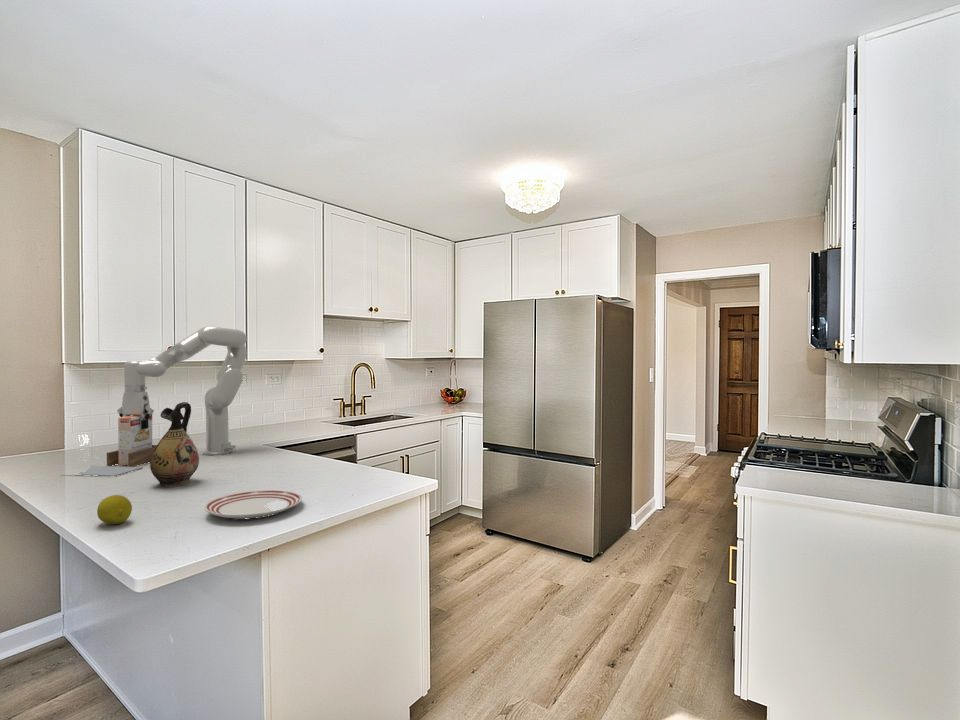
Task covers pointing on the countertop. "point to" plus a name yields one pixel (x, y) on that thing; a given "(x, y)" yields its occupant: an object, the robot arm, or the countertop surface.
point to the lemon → (114, 509)
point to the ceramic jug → (175, 450)
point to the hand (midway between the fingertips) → (135, 428)
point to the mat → (109, 470)
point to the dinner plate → (250, 503)
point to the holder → (132, 457)
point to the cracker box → (132, 437)
